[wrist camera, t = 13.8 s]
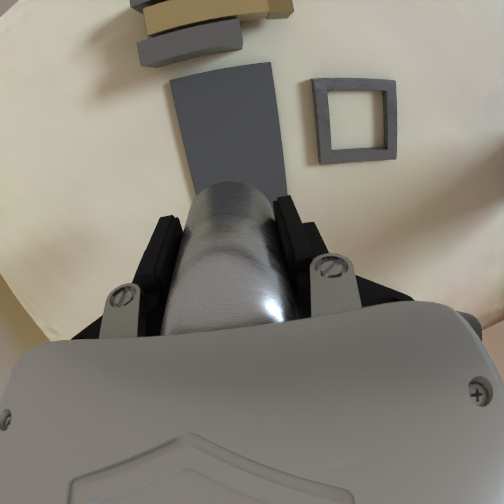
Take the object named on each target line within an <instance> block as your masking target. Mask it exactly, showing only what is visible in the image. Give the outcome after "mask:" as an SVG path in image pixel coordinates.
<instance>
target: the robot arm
mask: <svg viewBox="0 0 504 504" xmlns="http://www.w3.org/2000/svg"><path fill="white" fill-rule="evenodd" d="M273 209H274V217H275V223H276V227H277V231H278V235H279V239H280V243H281V247H282V251H283V255H284V259H285V263H286V267H287V271H288V275H289V279H290V282H291V285H292V290H293V294H294V298H295V302H296V306H297V311H298V315H299V319H296V320H290V321H284V322H277V323H270V324H264V325H256V326H249V327H241V328H233V329H225V330H216V331H207V332H197V333H187V334H175V335H163V336H160V331H161V326H162V321H163V316H164V311H165V306H166V302H167V297H168V293H169V288H170V284H171V280H172V275H173V271H174V267H175V263H176V259H177V255H178V251H179V247H180V243H181V239H182V235H183V230H182V227H181V224H180V221H179V218H178V217H177V218H175V217H174V216H173V215H170V216H165V217H160V219H159V221H158V223H157V226H156V228H155V230H154V232H153V235H152V237H151V239H150V242H149V244H148V246H147V249H146V250H145V252H144V254H143V257H142V259H141V261H140V264H139V266H138V269H137V271H136V274H135V276H134V279H133V282H132V283H127V284H123V285H120V286H118V287H117V288H115V289H114V290H113V291H112V292H111V293H110V294H109V295H108V297H107V299H106V303H105V308H104V313H103V315H102V316H101V317H100V318H98V319H97V320H96V321H94V322H93V323H92V324H90V325H89V326H88V327H86V328H85V329H84V330H82V331H81V332H80V333H78V334H77V335H76V336H74V337H73V338H72V339H71V340H60V341H53V342H48V343H44V344H40V345H38V346H36V347H33V348H31V349H30V350H28V351H27V352H25V353H24V354H22V355H21V357H20V358H19V360H18V361H17V363H16V365H15V367H14V369H13V370H12V373H11V375H10V377H9V379H8V382H7V385H6V388H5V390H4V393H3V396H2V399H1V402H0V504H504V383H503V381H502V378H501V376H500V374H499V372H498V370H497V368H496V366H495V364H494V362H493V360H492V358H491V357H490V355H489V353H488V351H487V350H486V348H485V346H484V344H483V343H482V328H481V324H480V323H479V321H478V319H476V318H475V317H474V316H473V315H470V314H468V313H463V312H459V311H455V310H454V309H453V308H451V307H449V306H446V305H443V304H440V303H435V302H426V301H415V300H414V299H412V298H411V297H410V296H408V295H406V294H403V293H401V292H398V291H396V290H393V289H390V288H388V287H385V286H383V285H380V284H377V283H375V282H372V281H370V280H367V279H364V278H362V277H359V276H356V275H355V272H354V268H353V264H352V262H351V261H350V260H349V259H348V258H347V257H345V256H343V255H340V254H335V253H329V252H328V250H327V248H326V246H325V244H324V241H323V239H322V237H321V235H320V233H319V231H318V229H317V227H316V225H315V223H314V222H308V223H302V222H301V219H300V217H299V215H298V212H297V210H296V208H295V205H294V203H293V201H292V199H291V196H290V195H288V196H281V197H277V201H273Z"/></svg>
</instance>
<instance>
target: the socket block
mask: <svg viewBox="0 0 504 504" xmlns="http://www.w3.org/2000/svg"><path fill="white" fill-rule="evenodd" d="M165 1H169V0H130V6H131V7H132V8H133V9H135V10H137V11H138V12H140V13H142V14H144V13H143V8H146V7H149V6H152V5H155V4H158V3H162V2H165ZM242 46H243V39H242V34H241V28H240V23H239V19H232V20H226V21H220V22H214V23H209V24H204V25H199V26H195V27H190V28H186V29H182V30H178V31H174V32H171V33H167V34H164V35H160V36H157V37H154V38H152V37H150V36H148V39H147V40H144V41H141V42H139V43H137V48H138V53H139V58H140V63H141V66H143V67H154V68H157V67H161V66H164V65H168V64H171V63H175V62H179V61H183V60H187V59H191V58H195V57H200V56H205V55H209V54H215V53H220V52H226V51H232V50H238V49H242Z"/></svg>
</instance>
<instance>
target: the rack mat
mask: <svg viewBox="0 0 504 504" xmlns="http://www.w3.org/2000/svg"><path fill="white" fill-rule="evenodd" d="M170 83H171V88H172V93H173V98H174V102H175V107H176V111H177V116H178V120H179V125H180V129H181V133H182V138H183V142H184V146H185V151H186V155H187V159H188V163H189V167H190V171H191V175H192V179H193V183H194V187H195V191H196V195H197V196H198V194H199V193H200V192H202V191H203V190H204V189H206V188H207V187H209V186H211V185H214V184H217V183H220V182H226V181H235V182H242V183H245V184H248V185H251V186H253V187H255V188H256V189H258V190H259V191H260V192H261V193H262V194H264V196H265V197H266V198H267V199H268V201H269V203H270V205H271V207H272V211H273V214H274V209H273V201H277V197H281V196H287V186H286V176H285V167H284V158H283V149H282V141H281V133H280V125H279V117H278V110H277V102H276V95H275V88H274V81H273V75H272V68H271V62H267V63H258V64H250V65H243V66H236V67H230V68H224V69H219V70H213V71H208V72H203V73H199V74H194V75H190V76H186V77H182V78H178V79H174V80H170ZM274 218H275V217H274Z"/></svg>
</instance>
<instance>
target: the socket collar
mask: <svg viewBox="0 0 504 504" xmlns="http://www.w3.org/2000/svg"><path fill="white" fill-rule="evenodd" d="M311 81H312V89H313V98H314V108H315V118H316V130H317V142H318V157H319V163H320V164H321V165H323V164H334V163H345V162H358V161H373V160H392V159H396V155H397V98H396V81H395V80H383V79H365V78H317V79H311ZM343 89H355V90H383V110H384V147H377V148H357V149H342V150H331V133H330V119H329V107H328V96H327V90H343Z"/></svg>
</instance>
